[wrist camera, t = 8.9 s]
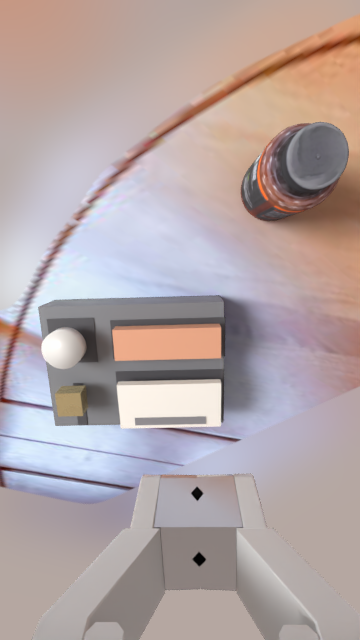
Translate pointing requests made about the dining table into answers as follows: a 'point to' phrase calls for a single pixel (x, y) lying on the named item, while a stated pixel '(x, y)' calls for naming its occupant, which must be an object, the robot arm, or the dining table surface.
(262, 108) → the dining table surface
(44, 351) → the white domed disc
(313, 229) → the dining table surface
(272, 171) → the supplement bottle
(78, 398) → the slider knob
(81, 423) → the panel
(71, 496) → the dining table surface
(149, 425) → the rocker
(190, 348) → the terracotta button
